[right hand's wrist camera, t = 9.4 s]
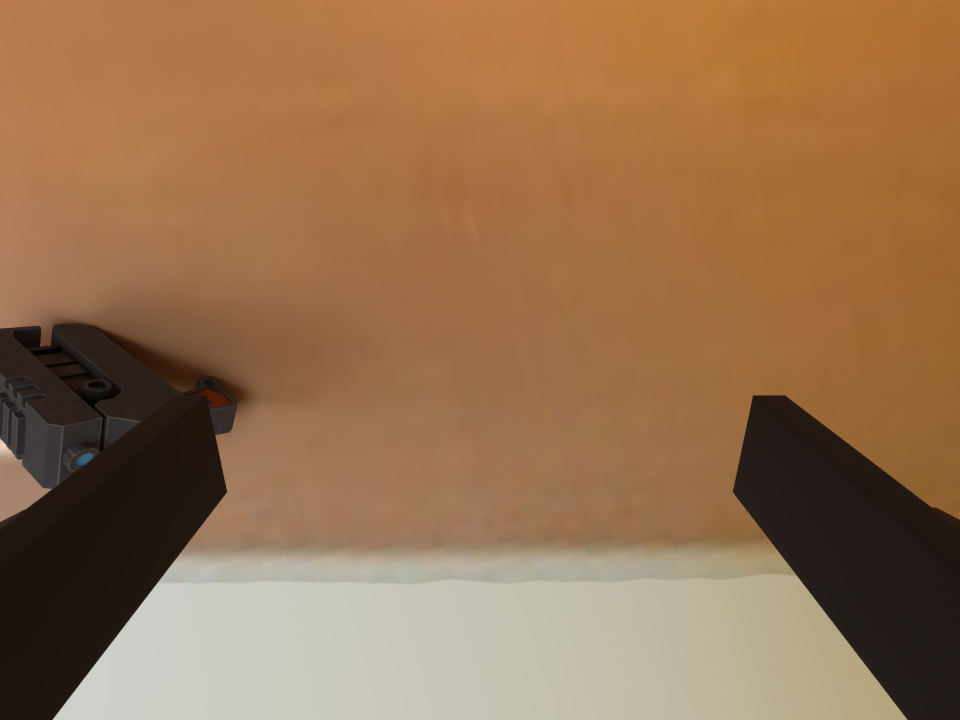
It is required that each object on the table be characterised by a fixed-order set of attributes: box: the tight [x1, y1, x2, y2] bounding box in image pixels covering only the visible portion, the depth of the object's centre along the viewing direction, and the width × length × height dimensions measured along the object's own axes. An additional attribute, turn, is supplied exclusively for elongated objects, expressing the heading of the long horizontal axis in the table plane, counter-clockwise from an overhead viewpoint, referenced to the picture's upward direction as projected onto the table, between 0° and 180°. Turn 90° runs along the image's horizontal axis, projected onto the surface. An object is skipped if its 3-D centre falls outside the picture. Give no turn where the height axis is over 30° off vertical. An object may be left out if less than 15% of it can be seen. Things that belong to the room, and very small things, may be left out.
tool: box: [0, 324, 238, 489], centre depth 44 cm, size 6×19×15 cm, turn 70°
